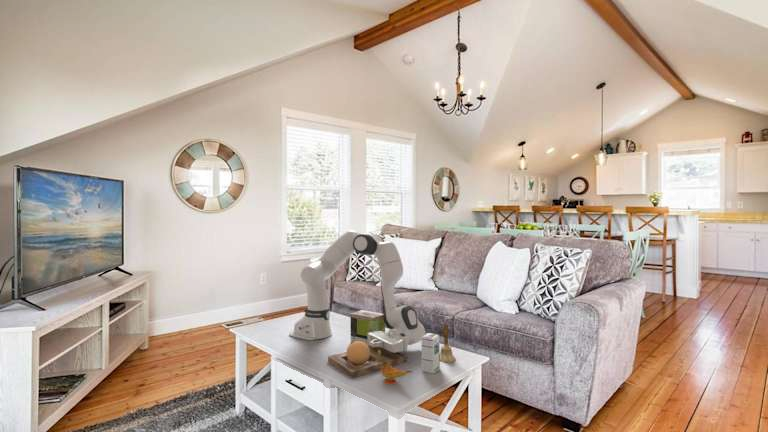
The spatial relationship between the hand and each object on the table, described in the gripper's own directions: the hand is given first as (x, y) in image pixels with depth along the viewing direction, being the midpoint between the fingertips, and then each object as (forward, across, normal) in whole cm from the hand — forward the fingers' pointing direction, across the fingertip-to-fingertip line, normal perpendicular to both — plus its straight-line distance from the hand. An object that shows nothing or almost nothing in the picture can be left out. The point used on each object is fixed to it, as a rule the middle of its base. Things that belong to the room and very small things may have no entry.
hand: (370, 344), depth 173 cm
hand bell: (-29, +17, +8) cm, 35 cm away
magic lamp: (+4, +22, +8) cm, 24 cm away
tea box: (-13, -21, +8) cm, 26 cm away
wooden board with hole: (+1, -1, +8) cm, 8 cm away
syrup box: (-15, +22, +8) cm, 28 cm away
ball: (+6, -1, +2) cm, 7 cm away
